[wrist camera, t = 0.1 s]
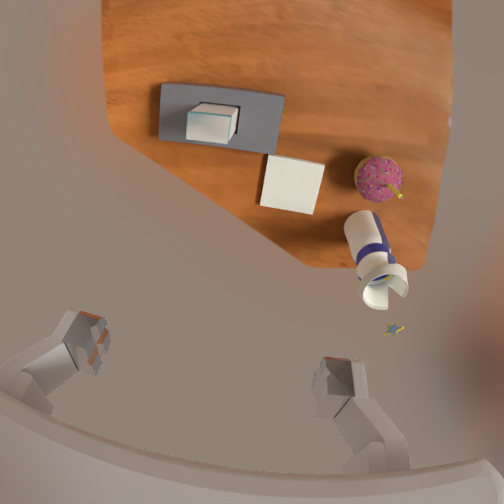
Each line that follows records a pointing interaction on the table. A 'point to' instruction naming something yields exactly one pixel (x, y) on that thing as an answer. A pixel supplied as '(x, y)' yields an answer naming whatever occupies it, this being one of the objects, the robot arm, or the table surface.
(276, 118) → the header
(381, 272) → the water bottle
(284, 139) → the table surface
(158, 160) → the table surface
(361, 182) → the cupcake
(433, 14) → the table surface
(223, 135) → the plug
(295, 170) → the mat
